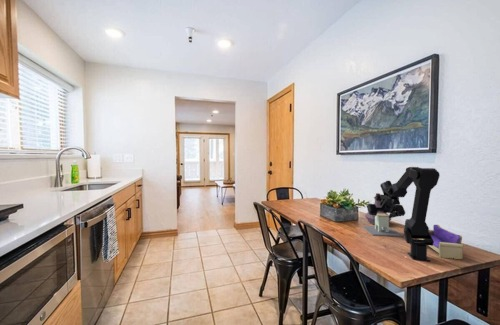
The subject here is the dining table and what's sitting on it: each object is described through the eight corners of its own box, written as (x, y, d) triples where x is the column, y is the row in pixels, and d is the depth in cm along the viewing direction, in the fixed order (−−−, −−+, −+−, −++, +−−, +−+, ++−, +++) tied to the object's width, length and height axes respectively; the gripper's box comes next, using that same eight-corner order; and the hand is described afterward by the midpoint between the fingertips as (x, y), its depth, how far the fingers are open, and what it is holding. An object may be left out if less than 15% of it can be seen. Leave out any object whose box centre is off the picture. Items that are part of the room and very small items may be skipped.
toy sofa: (416, 241, 117) (416, 222, 117) (435, 242, 115) (436, 223, 115) (440, 258, 97) (440, 235, 97) (464, 260, 95) (464, 236, 95)
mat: (403, 236, 123) (403, 235, 123) (373, 235, 125) (373, 234, 125) (389, 228, 139) (389, 227, 139) (362, 226, 141) (362, 225, 141)
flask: (370, 218, 161) (370, 191, 161) (396, 223, 149) (396, 193, 148) (359, 222, 151) (359, 193, 151) (386, 228, 138) (386, 196, 138)
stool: (388, 232, 129) (388, 215, 129) (378, 231, 130) (379, 215, 130) (384, 229, 135) (384, 213, 135) (374, 228, 135) (375, 213, 135)
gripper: (402, 191, 127) (392, 206, 138) (368, 190, 129) (361, 205, 140) (410, 207, 119) (399, 222, 130) (373, 206, 122) (365, 221, 133)
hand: (380, 217), depth 134 cm, fingers open, 9 cm apart
